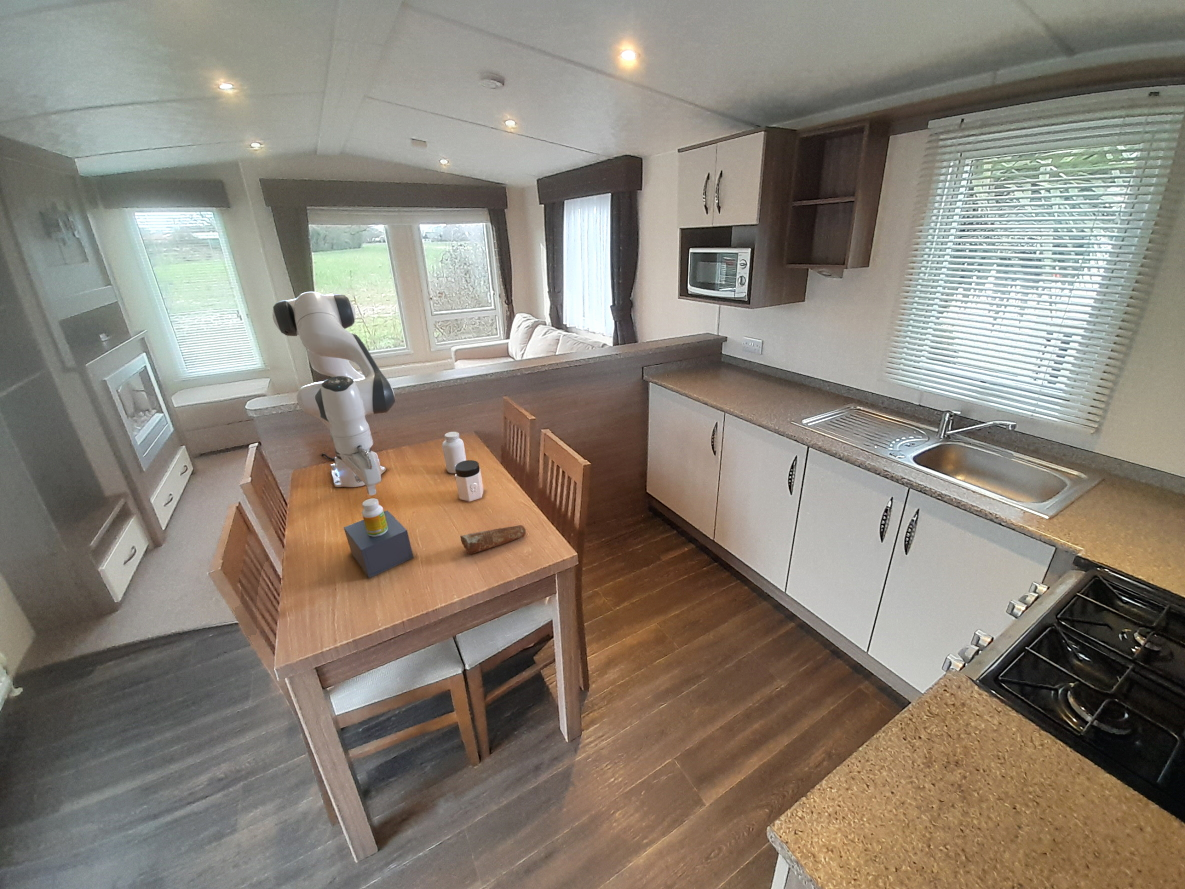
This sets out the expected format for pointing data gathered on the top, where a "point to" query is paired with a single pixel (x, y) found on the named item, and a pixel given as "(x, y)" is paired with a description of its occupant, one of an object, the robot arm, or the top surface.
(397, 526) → the dark grey box
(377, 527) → the supplement bottle
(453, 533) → the top surface
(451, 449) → the pill bottle
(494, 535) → the rusty brown tapered cylinder
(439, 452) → the top surface
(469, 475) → the jar
